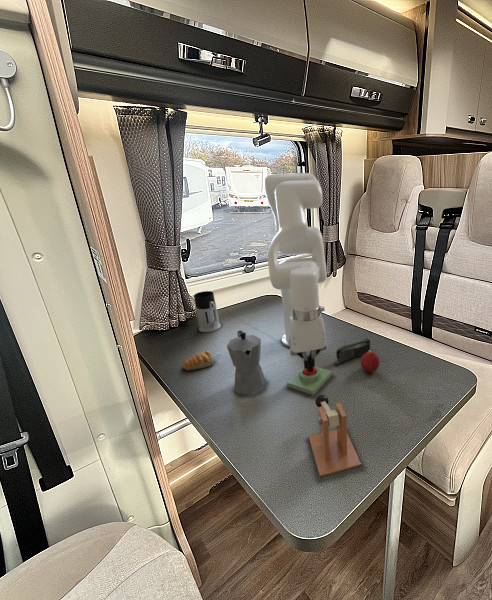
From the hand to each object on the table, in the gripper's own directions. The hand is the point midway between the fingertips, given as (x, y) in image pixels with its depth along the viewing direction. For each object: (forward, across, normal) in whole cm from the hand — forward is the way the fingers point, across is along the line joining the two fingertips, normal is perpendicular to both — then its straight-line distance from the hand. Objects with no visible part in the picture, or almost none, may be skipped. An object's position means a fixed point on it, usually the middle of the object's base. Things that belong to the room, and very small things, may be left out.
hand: (309, 369), depth 94 cm
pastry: (+5, +33, -22) cm, 40 cm away
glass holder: (+5, +31, -50) cm, 59 cm away
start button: (+2, 0, 0) cm, 2 cm away
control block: (+5, 0, 0) cm, 5 cm away
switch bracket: (+5, +1, +28) cm, 28 cm away
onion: (+5, -19, +1) cm, 20 cm away
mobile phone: (+5, -17, -10) cm, 20 cm away
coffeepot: (+5, +18, -5) cm, 19 cm away
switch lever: (-2, +1, +23) cm, 23 cm away
